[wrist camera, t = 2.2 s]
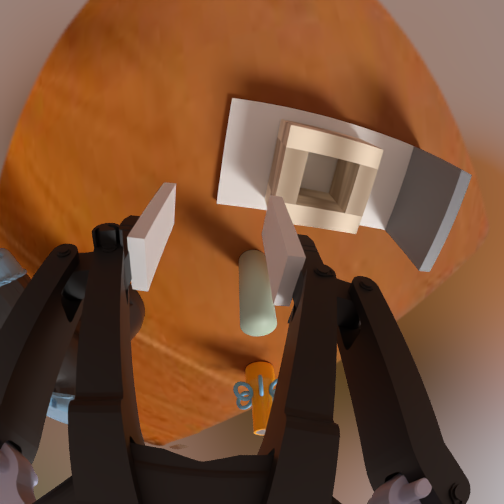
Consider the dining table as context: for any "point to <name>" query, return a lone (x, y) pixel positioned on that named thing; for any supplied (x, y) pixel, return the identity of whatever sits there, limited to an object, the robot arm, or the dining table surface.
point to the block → (343, 184)
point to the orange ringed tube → (258, 393)
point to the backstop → (323, 168)
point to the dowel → (255, 295)
